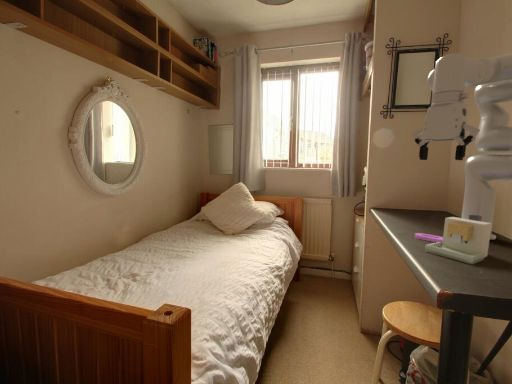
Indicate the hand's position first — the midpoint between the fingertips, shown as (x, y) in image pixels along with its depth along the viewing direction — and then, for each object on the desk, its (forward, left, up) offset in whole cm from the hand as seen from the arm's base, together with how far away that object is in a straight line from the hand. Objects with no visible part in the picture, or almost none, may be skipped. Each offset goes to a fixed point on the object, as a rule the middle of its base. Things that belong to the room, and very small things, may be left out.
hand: (440, 159), depth 80 cm
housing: (-9, +6, -28) cm, 30 cm away
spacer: (-4, +6, -23) cm, 24 cm away
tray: (-2, +6, -28) cm, 29 cm away
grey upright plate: (-9, +6, -24) cm, 26 cm away
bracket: (-15, -5, -28) cm, 33 cm away
